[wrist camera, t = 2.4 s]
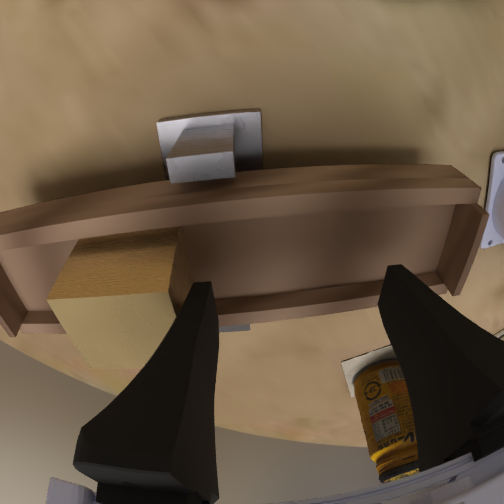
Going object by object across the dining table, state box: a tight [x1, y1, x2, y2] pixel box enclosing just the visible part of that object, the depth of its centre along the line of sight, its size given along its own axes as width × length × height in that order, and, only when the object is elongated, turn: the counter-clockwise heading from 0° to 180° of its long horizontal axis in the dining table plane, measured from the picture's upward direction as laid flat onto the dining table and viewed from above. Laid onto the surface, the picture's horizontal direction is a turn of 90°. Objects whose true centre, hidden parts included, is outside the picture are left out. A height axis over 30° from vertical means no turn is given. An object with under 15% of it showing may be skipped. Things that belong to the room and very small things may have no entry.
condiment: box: [341, 345, 419, 484], centre depth 25 cm, size 7×8×12 cm
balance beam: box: [0, 164, 490, 337], centre depth 14 cm, size 24×7×4 cm, turn 93°
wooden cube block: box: [46, 226, 194, 369], centre depth 12 cm, size 4×4×4 cm
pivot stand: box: [156, 109, 263, 332], centre depth 16 cm, size 5×10×5 cm, turn 3°
